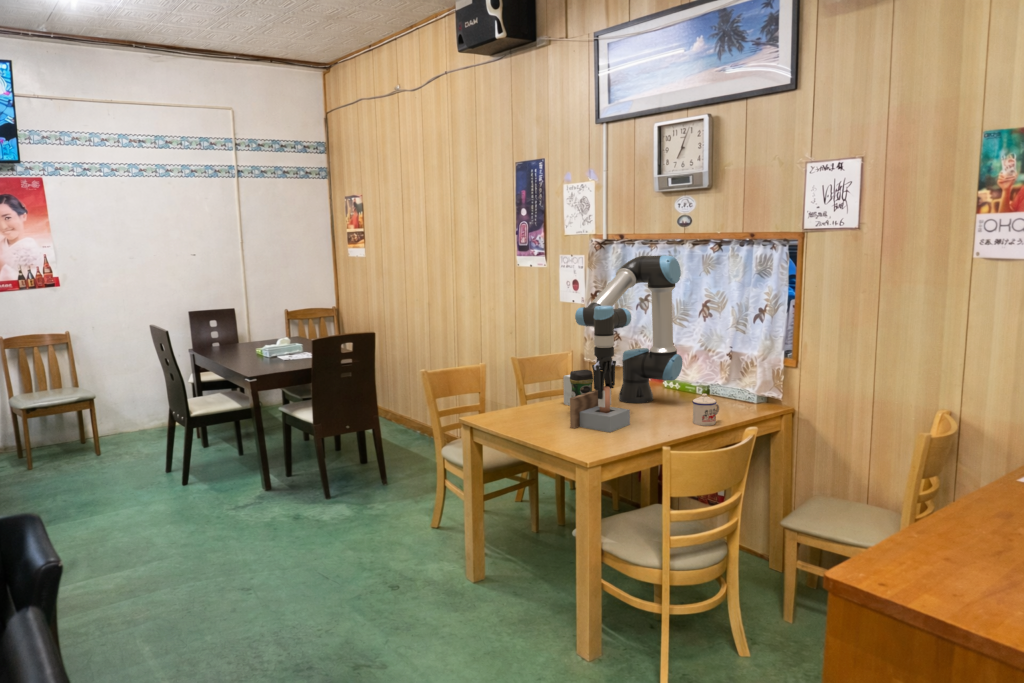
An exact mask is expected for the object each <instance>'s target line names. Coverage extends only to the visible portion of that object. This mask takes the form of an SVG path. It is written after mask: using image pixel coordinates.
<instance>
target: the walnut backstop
mask: <svg viewBox="0 0 1024 683" xmlns="http://www.w3.org/2000/svg"><path fill="white" fill-rule="evenodd" d="M596 406H598V390H595V389H594V390H592V391H591V392H588V393H585V394H581V395H578V396H575V397H572V398H570V406H569V412H570V413H569V414H570V415H569V416H570V417H569V418H570V419H569V420H570V422H569V424H570V429H578V428H581V427H580V412H581V411H584V410H587V409H590V408H593V407H596Z"/></svg>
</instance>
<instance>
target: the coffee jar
mask: <svg viewBox="0 0 1024 683" xmlns="http://www.w3.org/2000/svg"><path fill="white" fill-rule="evenodd" d="M592 371H593V370H589V369H578V370H572V371H571V370H570V374H569V375H570V382H571V386H572V395H571V398H572V397H575V396H578V395H581V394H585V393H588V392H591V391H593V384H594V377H593V372H592Z"/></svg>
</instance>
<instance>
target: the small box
mask: <svg viewBox="0 0 1024 683" xmlns="http://www.w3.org/2000/svg"><path fill="white" fill-rule="evenodd" d="M562 379H563V405H566V406H569V407H570V398H571V395H572V386H571V382H570V374H567V375H563V378H562Z"/></svg>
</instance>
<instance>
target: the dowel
mask: <svg viewBox="0 0 1024 683" xmlns="http://www.w3.org/2000/svg"><path fill="white" fill-rule="evenodd" d="M604 391H605V407H600V412H602V413H609V412H610V407H611V405H610V387H608V386H605V385H604Z"/></svg>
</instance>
